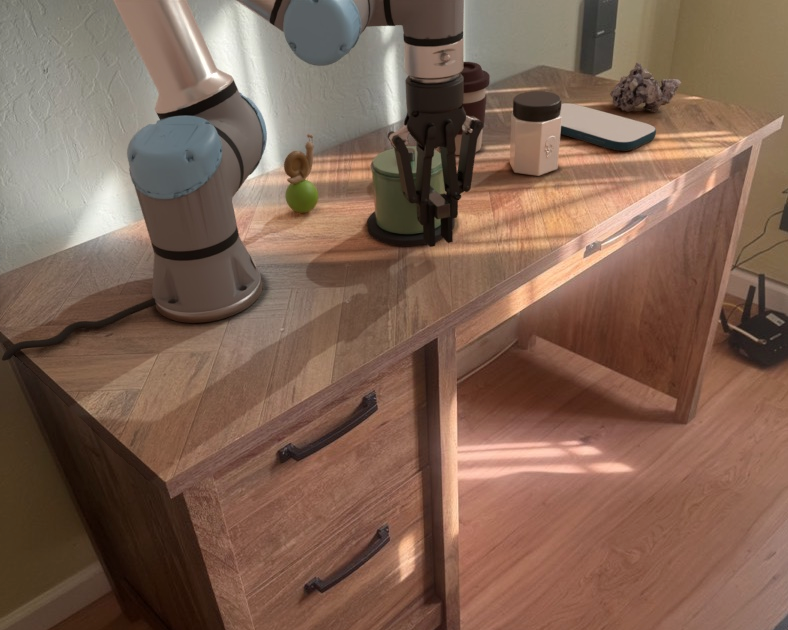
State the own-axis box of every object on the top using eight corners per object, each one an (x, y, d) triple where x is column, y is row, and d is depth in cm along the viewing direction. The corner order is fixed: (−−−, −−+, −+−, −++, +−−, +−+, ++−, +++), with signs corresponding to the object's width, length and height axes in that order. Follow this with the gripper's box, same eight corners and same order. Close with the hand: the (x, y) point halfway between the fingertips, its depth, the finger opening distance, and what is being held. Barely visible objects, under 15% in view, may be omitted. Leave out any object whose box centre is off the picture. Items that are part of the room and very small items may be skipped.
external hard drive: (661, 138, 144) (663, 127, 143) (624, 156, 139) (625, 145, 137) (563, 110, 159) (564, 100, 157) (526, 125, 153) (526, 115, 152)
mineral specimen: (687, 92, 152) (664, 47, 148) (655, 119, 150) (631, 74, 147) (647, 106, 163) (625, 64, 160) (617, 131, 161) (594, 90, 158)
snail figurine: (331, 207, 129) (322, 137, 122) (302, 221, 126) (292, 150, 118) (309, 199, 132) (300, 130, 125) (281, 212, 129) (269, 142, 121)
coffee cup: (497, 143, 147) (499, 61, 137) (473, 162, 140) (473, 77, 131) (451, 136, 151) (451, 56, 142) (426, 154, 145) (423, 71, 135)
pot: (407, 263, 110) (404, 191, 103) (364, 211, 124) (359, 144, 117) (479, 245, 113) (480, 174, 106) (429, 196, 127) (427, 131, 120)
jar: (529, 180, 133) (533, 110, 125) (499, 166, 138) (501, 98, 131) (567, 166, 136) (573, 98, 129) (536, 153, 142) (540, 87, 134)
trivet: (379, 252, 116) (379, 247, 115) (358, 214, 126) (358, 208, 126) (466, 236, 118) (466, 231, 118) (439, 200, 129) (439, 195, 128)
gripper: (388, 92, 93) (399, 263, 108) (500, 72, 97) (495, 240, 112) (369, 76, 99) (381, 240, 114) (475, 58, 102) (473, 220, 117)
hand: (437, 240), depth 113 cm, fingers closed on pot, 2 cm apart
